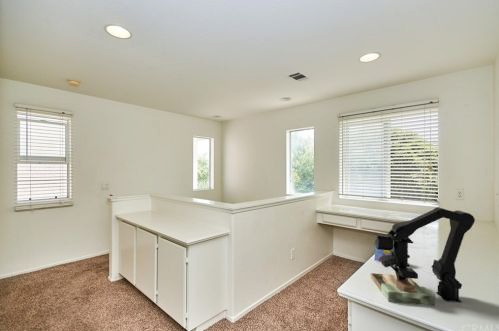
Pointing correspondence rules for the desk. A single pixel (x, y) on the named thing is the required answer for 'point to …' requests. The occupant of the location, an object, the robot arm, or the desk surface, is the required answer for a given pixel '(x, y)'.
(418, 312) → the desk surface
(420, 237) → the desk surface
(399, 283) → the walnut brick
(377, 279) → the trap board
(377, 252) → the ink cartridge box
